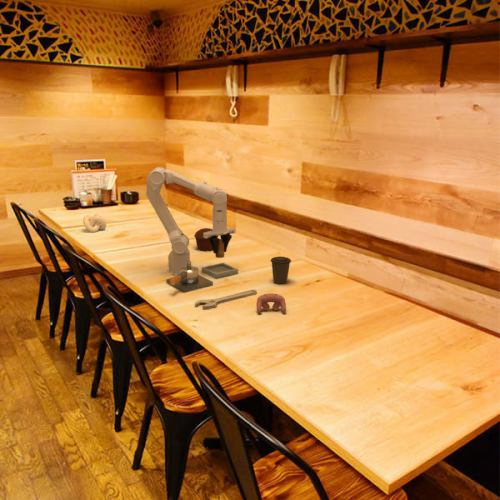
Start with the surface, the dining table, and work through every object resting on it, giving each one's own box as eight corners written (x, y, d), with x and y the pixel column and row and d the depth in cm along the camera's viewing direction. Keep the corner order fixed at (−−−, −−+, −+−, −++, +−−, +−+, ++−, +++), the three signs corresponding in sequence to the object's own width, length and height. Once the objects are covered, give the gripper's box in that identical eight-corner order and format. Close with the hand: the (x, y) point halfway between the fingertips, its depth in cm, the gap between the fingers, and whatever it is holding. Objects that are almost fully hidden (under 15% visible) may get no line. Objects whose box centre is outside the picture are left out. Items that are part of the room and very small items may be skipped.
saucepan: (185, 276, 186) (185, 258, 184) (201, 278, 184) (201, 260, 182) (164, 290, 171) (163, 270, 169) (181, 292, 169) (180, 273, 167)
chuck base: (166, 282, 183) (166, 279, 183) (194, 276, 191) (194, 272, 191) (183, 292, 174) (183, 289, 173) (212, 285, 181) (212, 281, 181)
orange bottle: (213, 256, 193) (213, 239, 191) (220, 254, 196) (220, 238, 194) (219, 258, 191) (219, 241, 189) (226, 256, 193) (226, 239, 191)
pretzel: (82, 229, 264) (81, 213, 262) (104, 227, 269) (103, 211, 267) (84, 233, 254) (83, 217, 252) (107, 231, 259) (106, 215, 257)
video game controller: (285, 314, 160) (284, 293, 161) (286, 313, 156) (286, 292, 157) (256, 314, 160) (255, 294, 161) (257, 314, 155) (256, 292, 156)
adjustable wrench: (253, 292, 176) (254, 288, 175) (263, 298, 171) (263, 294, 170) (193, 305, 163) (192, 301, 163) (201, 312, 158) (201, 307, 157)
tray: (201, 271, 196) (201, 267, 196) (223, 267, 203) (222, 262, 202) (216, 279, 188) (216, 274, 188) (238, 273, 195) (238, 269, 194)
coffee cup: (289, 286, 181) (290, 261, 178) (268, 284, 183) (268, 260, 180) (291, 279, 189) (292, 255, 186) (271, 277, 190) (272, 254, 188)
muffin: (220, 246, 234) (220, 226, 231) (216, 252, 223) (216, 232, 221) (196, 245, 235) (196, 225, 232) (192, 251, 224) (191, 231, 222)
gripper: (210, 224, 182) (210, 257, 185) (240, 219, 190) (239, 251, 194) (200, 220, 187) (200, 253, 191) (230, 216, 196) (229, 247, 199)
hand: (219, 252), depth 193 cm, fingers closed on orange bottle, 4 cm apart
